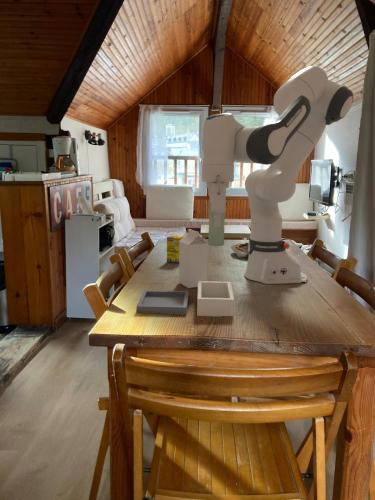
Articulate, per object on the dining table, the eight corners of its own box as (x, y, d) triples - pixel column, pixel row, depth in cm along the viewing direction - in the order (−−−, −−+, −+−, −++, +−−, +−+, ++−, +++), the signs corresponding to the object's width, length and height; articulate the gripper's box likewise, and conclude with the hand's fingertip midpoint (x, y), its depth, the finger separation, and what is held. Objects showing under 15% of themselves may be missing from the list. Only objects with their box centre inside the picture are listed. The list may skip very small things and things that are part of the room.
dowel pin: (223, 242, 114) (224, 201, 111) (224, 246, 110) (225, 203, 107) (208, 242, 114) (209, 201, 111) (208, 245, 110) (209, 203, 107)
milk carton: (188, 288, 131) (188, 233, 127) (178, 283, 137) (179, 229, 133) (206, 285, 134) (207, 231, 130) (196, 280, 140) (197, 228, 136)
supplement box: (166, 262, 165) (166, 236, 162) (172, 259, 170) (172, 234, 168) (179, 263, 163) (179, 238, 160) (185, 260, 168) (185, 235, 165)
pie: (291, 264, 166) (291, 252, 165) (226, 264, 166) (226, 252, 165) (277, 249, 193) (278, 239, 192) (222, 249, 194) (222, 239, 192)
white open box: (229, 297, 124) (230, 281, 123) (233, 316, 108) (234, 299, 107) (198, 296, 124) (198, 281, 123) (197, 315, 108) (197, 298, 107)
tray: (188, 297, 123) (188, 291, 123) (186, 314, 110) (186, 307, 109) (144, 296, 124) (143, 290, 123) (136, 313, 110) (136, 306, 110)
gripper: (232, 176, 97) (230, 231, 100) (227, 173, 117) (226, 219, 120) (206, 176, 98) (205, 231, 101) (206, 173, 117) (205, 219, 121)
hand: (216, 224), depth 111 cm, fingers closed on dowel pin, 4 cm apart
